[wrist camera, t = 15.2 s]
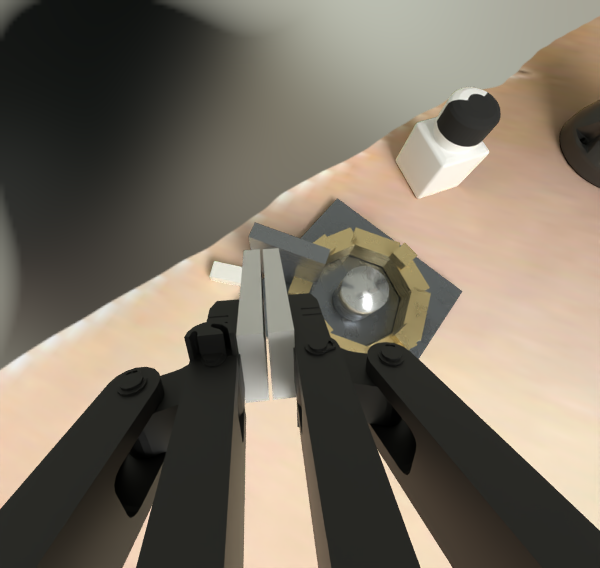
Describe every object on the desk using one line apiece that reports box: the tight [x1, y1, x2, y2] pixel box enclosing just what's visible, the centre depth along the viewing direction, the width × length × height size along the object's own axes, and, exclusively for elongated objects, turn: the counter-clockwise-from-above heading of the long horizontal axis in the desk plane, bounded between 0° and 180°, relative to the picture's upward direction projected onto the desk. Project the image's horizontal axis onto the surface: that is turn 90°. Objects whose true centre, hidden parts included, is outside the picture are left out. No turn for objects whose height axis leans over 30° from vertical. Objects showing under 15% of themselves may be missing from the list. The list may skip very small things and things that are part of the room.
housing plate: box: [262, 199, 462, 359], centre depth 35 cm, size 20×20×6 cm
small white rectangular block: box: [209, 261, 242, 287], centre depth 36 cm, size 4×2×2 cm, turn 79°
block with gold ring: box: [249, 223, 431, 353], centre depth 32 cm, size 20×15×9 cm
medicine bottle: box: [396, 87, 500, 199], centre depth 39 cm, size 7×7×12 cm
